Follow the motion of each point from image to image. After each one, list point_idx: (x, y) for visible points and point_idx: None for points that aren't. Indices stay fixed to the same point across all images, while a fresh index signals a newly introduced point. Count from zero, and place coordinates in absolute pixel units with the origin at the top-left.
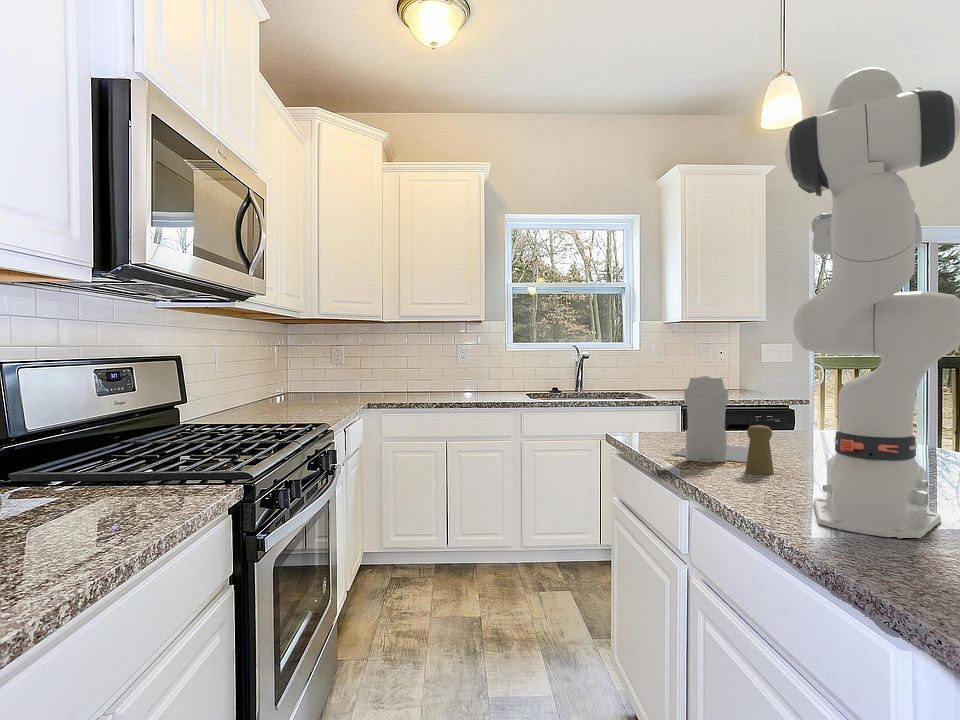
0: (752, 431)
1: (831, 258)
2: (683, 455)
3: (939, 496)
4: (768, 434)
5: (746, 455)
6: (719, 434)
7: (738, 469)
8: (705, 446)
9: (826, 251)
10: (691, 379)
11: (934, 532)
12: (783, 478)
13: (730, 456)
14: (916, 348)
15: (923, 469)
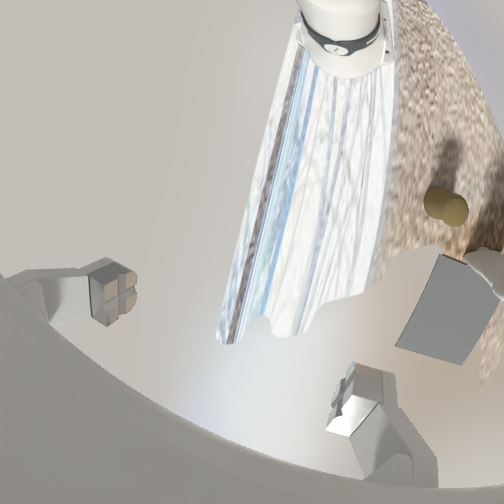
0: (464, 199)
1: (429, 452)
2: None
3: (274, 130)
4: (445, 196)
5: (433, 300)
6: (484, 262)
7: None
8: (491, 254)
9: (478, 491)
10: None
11: None
12: (416, 172)
13: (453, 288)
14: None
15: (300, 22)
